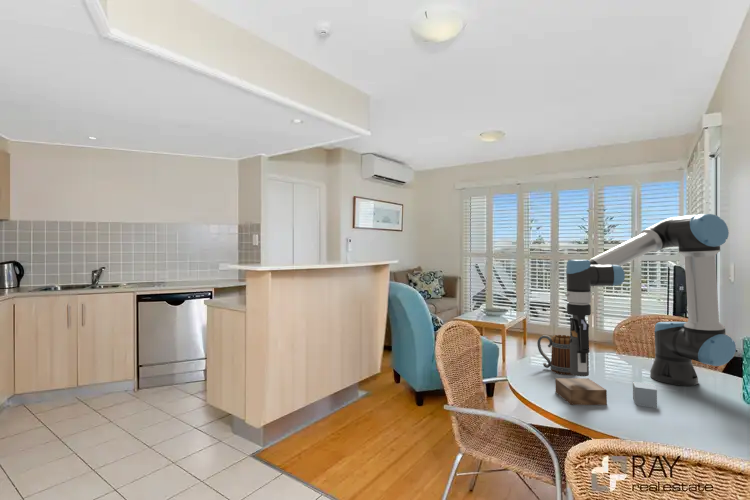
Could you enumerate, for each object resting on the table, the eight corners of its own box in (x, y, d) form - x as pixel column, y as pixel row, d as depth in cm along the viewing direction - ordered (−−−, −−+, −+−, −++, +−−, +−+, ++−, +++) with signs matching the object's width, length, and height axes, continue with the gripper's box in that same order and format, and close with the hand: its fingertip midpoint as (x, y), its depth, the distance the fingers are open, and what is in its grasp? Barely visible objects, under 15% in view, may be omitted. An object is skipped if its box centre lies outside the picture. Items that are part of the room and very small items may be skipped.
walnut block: (588, 391, 144) (588, 378, 144) (606, 404, 132) (606, 389, 132) (555, 392, 144) (555, 378, 144) (570, 404, 132) (570, 390, 132)
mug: (578, 370, 170) (578, 335, 170) (576, 377, 161) (575, 340, 161) (540, 365, 178) (539, 332, 178) (535, 371, 169) (535, 336, 169)
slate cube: (653, 401, 134) (653, 384, 134) (657, 408, 129) (656, 389, 129) (633, 398, 137) (632, 381, 137) (635, 405, 132) (635, 387, 132)
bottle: (591, 377, 135) (590, 333, 135) (572, 376, 136) (572, 332, 136) (585, 371, 140) (585, 330, 140) (568, 371, 142) (567, 329, 142)
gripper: (560, 299, 148) (561, 360, 148) (575, 306, 130) (576, 376, 130) (581, 300, 147) (582, 361, 147) (599, 307, 128) (600, 377, 128)
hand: (579, 368), depth 138 cm, fingers closed on bottle, 6 cm apart
